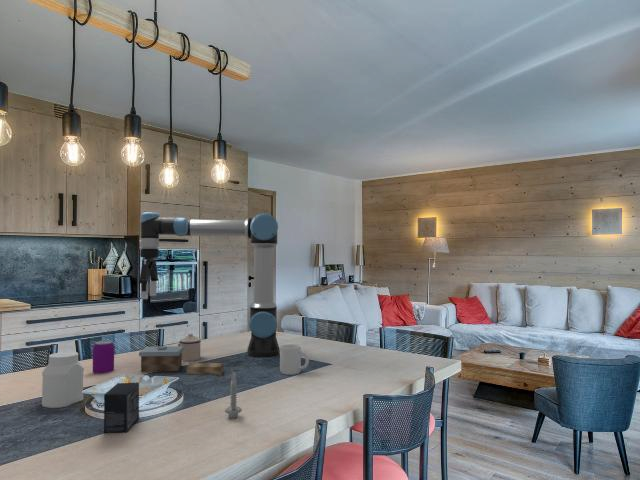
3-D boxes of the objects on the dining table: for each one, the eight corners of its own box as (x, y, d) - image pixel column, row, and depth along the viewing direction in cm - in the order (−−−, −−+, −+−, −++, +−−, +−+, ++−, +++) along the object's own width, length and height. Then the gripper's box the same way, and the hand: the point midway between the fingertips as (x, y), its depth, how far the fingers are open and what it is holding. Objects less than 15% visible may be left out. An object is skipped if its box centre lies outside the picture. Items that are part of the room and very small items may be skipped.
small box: (116, 419, 132) (117, 382, 132) (139, 418, 132) (140, 381, 133) (102, 433, 121) (102, 393, 121) (127, 433, 122) (128, 393, 122)
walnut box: (181, 367, 189) (181, 350, 189) (177, 372, 181) (177, 355, 182) (146, 368, 188) (146, 351, 188) (140, 373, 180) (141, 355, 180)
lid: (183, 349, 191) (183, 344, 191) (178, 355, 180) (178, 350, 180) (146, 350, 189) (146, 345, 189) (138, 356, 179) (139, 350, 179)
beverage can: (117, 372, 181) (117, 342, 181) (97, 376, 176) (97, 344, 176) (109, 369, 186) (109, 339, 187) (89, 372, 181) (89, 342, 181)
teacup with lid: (205, 359, 204) (205, 333, 204) (189, 363, 196) (189, 336, 196) (185, 356, 210) (186, 330, 210) (170, 360, 202) (170, 333, 202)
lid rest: (222, 371, 184) (222, 362, 184) (221, 375, 178) (221, 366, 178) (189, 372, 182) (189, 363, 182) (186, 376, 176) (186, 367, 176)
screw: (243, 418, 133) (226, 421, 131) (239, 413, 137) (223, 415, 135) (243, 373, 133) (227, 375, 131) (239, 369, 137) (223, 370, 135)
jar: (59, 409, 139) (60, 359, 140) (35, 406, 142) (36, 357, 142) (89, 397, 150) (89, 351, 150) (66, 394, 153) (66, 349, 153)
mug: (312, 371, 184) (312, 346, 184) (304, 377, 177) (304, 350, 177) (285, 369, 189) (285, 343, 189) (276, 374, 181) (276, 347, 181)
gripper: (148, 248, 211) (147, 294, 210) (131, 247, 186) (130, 300, 186) (165, 248, 212) (164, 294, 211) (150, 248, 187) (150, 300, 186)
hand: (148, 297), depth 198 cm, fingers open, 13 cm apart
